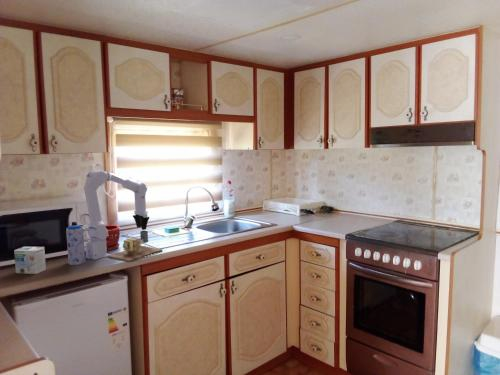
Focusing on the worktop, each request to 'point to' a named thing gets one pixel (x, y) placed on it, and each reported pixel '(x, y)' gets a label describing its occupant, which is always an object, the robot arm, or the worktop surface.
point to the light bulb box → (30, 260)
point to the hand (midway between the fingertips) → (141, 228)
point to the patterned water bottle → (75, 244)
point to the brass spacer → (129, 245)
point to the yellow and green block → (143, 239)
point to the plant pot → (112, 237)
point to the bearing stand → (134, 251)
